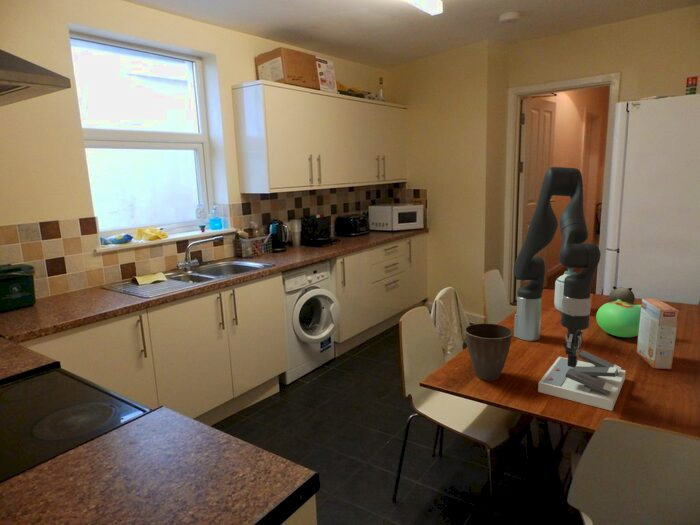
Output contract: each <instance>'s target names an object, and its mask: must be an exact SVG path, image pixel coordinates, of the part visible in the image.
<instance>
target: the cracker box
mask: <svg viewBox="0 0 700 525" xmlns="http://www.w3.org/2000/svg"><path fill="white" fill-rule="evenodd" d="M640 305H641V315H640V324H639V334H638V335H637V344H636V354H637V355H638V356H639V357H640V358H642V359H643V360H644V361H645V362H646V363H647V364H648V365H649V366H650V367H651V368H652V369H655V370H656V369H658V370H672V367H673V360H674V353H675V344H676V337H677V336H676V335H677V328H678V319H679V312H680V311H679V310H678V309H677V308H675V307H673V306H671V305H669V304H668V303H666V302H664V300H663V301H662V300H661V299H657V298H642V299H641V304H640Z"/></svg>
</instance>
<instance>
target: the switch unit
mask: <svg viewBox="0 0 700 525" xmlns="http://www.w3.org/2000/svg"><path fill="white" fill-rule="evenodd" d="M576 366H581V367H597V366H595V365H593V364H591V363H589V362H587V361H584V360H583V361H582V360H578V359H577V365H576ZM570 368H571V369H573V368H574V367H569V366H568V357H562V356H558V357H557V358H556V359H555V361H554V362H553V364H552V365H551V366H550V367H549V368H548V369H547V371H546V372H545V374H544V375H543V376H542V378H541V379H540V380H539V382H538V383H537V384H538V385H537V386H538V388H537V390H538V391H537V392H538V393H542V394H545V395H549V396H552V397H553V396H554V397H557V398H561V399H565V400H567V401H568V400H569V401H573V402H576V403H581V404H583V405H584V404H585V405H587V406H592V407H596V408H600V409H604V410H607V411H611V412H613V410H614V406H615V405H616V402H617V400H618V398H619V394H620V392H621V389H622V387H623V385H624V382H625V379H626V370H625V369H622V368H621V369H620V372H619V374H618V376H616V377H607V376H591V377H593V378H595V379H598V380H600V381H603V382H605V383H609V384H611V385H613V387H612V390H611V392H610V394H609V395H607V394H605V393H603V392H600V391H598V390H596V389H593V388H591V387H588V386H586V385H584V384H581V383H579V382H577V381H574V380H572V379H569V378H567V377H565V376H566V373H567V372H568V370H569V369H570Z"/></svg>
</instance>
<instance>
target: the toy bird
mask: <svg viewBox="0 0 700 525" xmlns="http://www.w3.org/2000/svg"><path fill="white" fill-rule="evenodd" d="M641 305H642V304H634V303H633V304H630V303H626V302H622V301H621V300H619V299H618V300H617V301H615V302H610V301H609V302H607V303H604V304H603V305H601V306H600V307H599V308H598V310H597V312H596V314H595V320H596V323H597V324H598V326H599V327H600V328H601V330H603V331H604V332H606V333H608V334H609V335H610V336H611V335H612V336H613V337H615V336H616V337H618V338H634V337H638V334H639V324H640V315H641Z"/></svg>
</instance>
